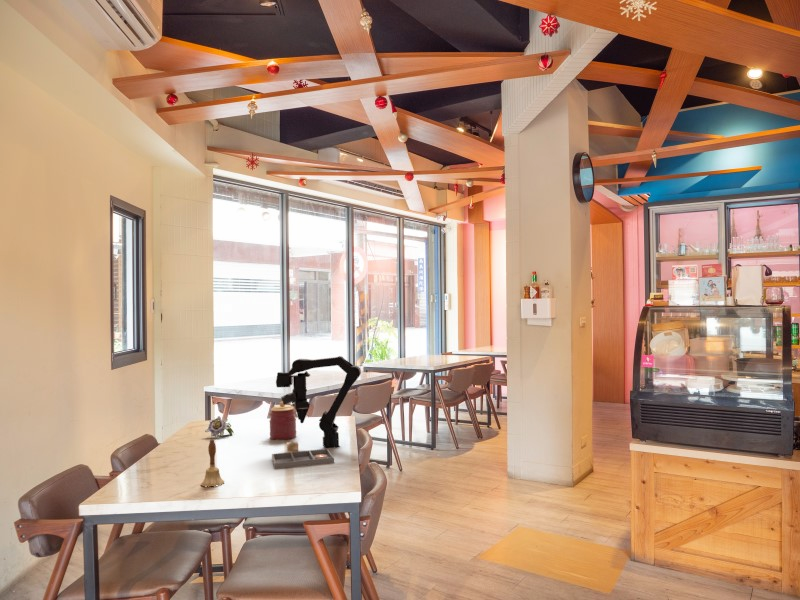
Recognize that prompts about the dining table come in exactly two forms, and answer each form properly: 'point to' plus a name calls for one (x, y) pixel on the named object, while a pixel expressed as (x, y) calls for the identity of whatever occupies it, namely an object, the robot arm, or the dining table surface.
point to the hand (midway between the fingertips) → (300, 421)
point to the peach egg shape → (320, 456)
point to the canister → (282, 422)
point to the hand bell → (212, 469)
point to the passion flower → (219, 427)
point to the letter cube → (292, 447)
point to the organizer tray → (301, 458)
